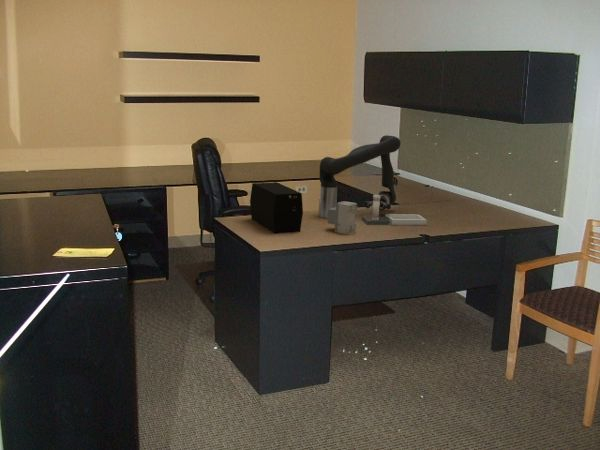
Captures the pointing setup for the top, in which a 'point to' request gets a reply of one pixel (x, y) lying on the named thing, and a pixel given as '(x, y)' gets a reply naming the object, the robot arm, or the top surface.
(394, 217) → the tray
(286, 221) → the uninterruptible power supply
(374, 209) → the fuse
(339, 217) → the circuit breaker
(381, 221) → the fuse holder
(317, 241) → the top surface
